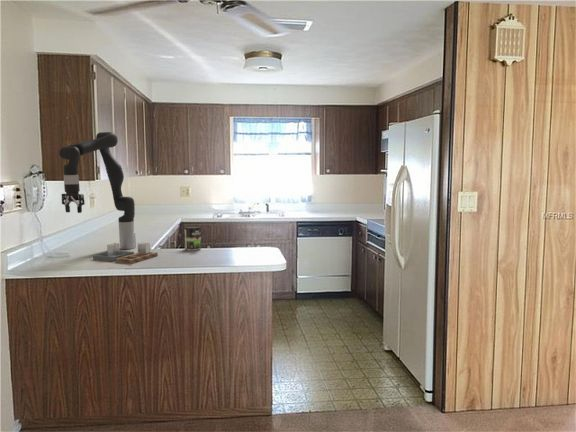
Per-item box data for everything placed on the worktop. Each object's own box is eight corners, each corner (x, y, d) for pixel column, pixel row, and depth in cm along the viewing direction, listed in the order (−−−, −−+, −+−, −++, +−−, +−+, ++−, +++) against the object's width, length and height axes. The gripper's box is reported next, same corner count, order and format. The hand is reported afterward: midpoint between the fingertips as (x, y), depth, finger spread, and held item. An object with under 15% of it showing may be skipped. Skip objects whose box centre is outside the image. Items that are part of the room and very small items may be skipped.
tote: (113, 255, 280) (112, 250, 280) (134, 257, 274) (133, 251, 274) (93, 261, 266) (92, 255, 265) (115, 263, 260) (114, 257, 259)
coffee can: (204, 248, 300) (204, 226, 299) (191, 251, 293) (190, 228, 291) (195, 246, 307) (194, 225, 306) (181, 249, 300) (181, 227, 298)
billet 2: (142, 255, 274) (142, 242, 273) (150, 256, 272) (149, 242, 271) (138, 257, 271) (137, 243, 270) (146, 257, 269) (145, 243, 268)
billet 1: (107, 258, 268) (106, 244, 267) (114, 256, 273) (113, 242, 272) (113, 259, 266) (112, 245, 265) (120, 257, 272) (119, 243, 271)
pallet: (142, 256, 278) (142, 251, 278) (157, 257, 274) (157, 252, 274) (116, 264, 258) (115, 258, 258) (132, 265, 254) (131, 260, 254)
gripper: (86, 183, 260) (88, 212, 262) (67, 182, 265) (69, 211, 267) (76, 183, 253) (78, 213, 255) (56, 183, 258) (58, 212, 260)
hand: (73, 212), depth 261 cm, fingers open, 8 cm apart
